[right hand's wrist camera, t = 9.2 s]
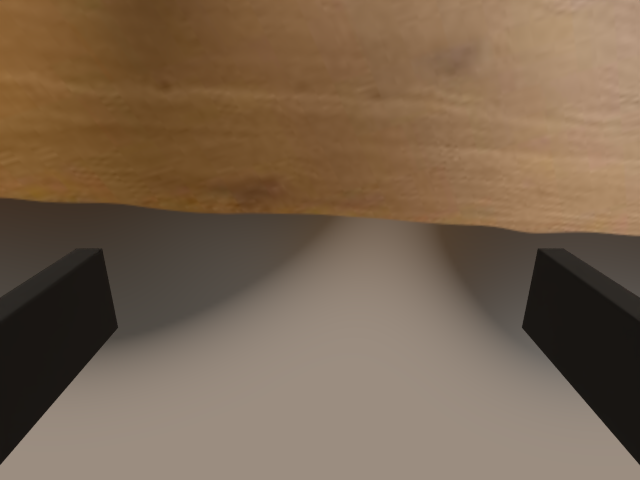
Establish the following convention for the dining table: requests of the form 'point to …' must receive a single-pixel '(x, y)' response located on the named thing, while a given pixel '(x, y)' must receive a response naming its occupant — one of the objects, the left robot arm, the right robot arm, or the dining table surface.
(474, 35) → the dining table surface
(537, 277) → the right robot arm
